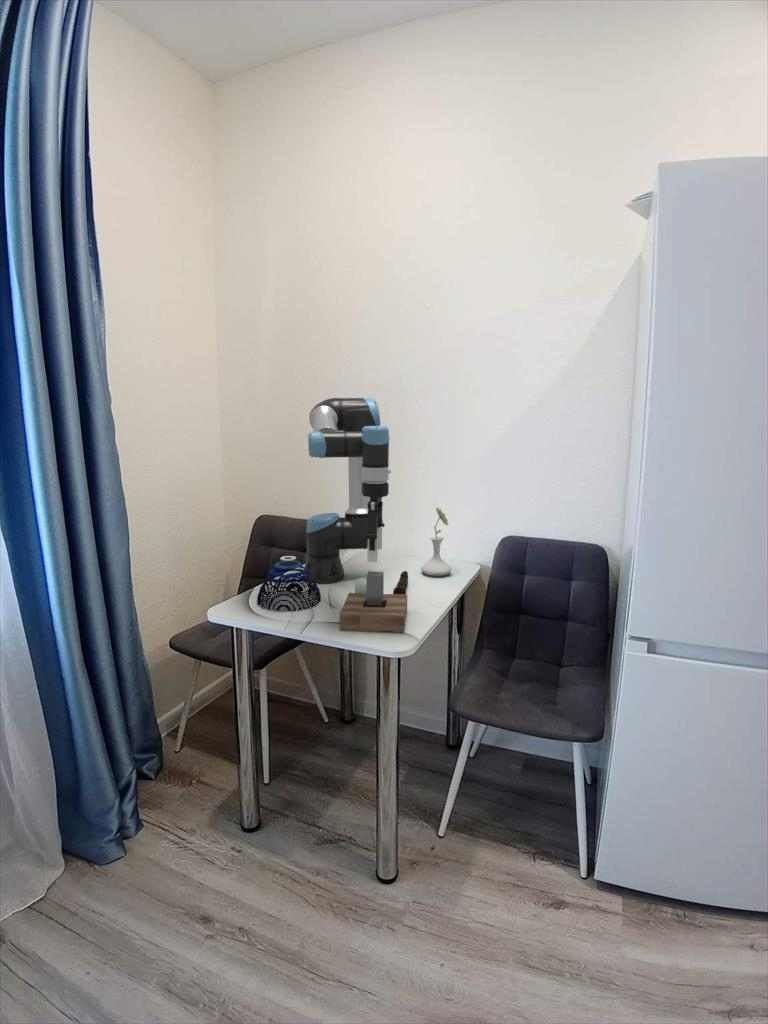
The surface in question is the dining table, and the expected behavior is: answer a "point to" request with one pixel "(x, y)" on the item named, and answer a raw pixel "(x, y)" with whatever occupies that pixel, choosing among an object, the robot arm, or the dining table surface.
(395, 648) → the dining table surface
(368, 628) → the socket block
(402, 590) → the hand tool
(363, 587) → the round stub
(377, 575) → the square bar
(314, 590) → the decorative bowl
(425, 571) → the flower in vase
